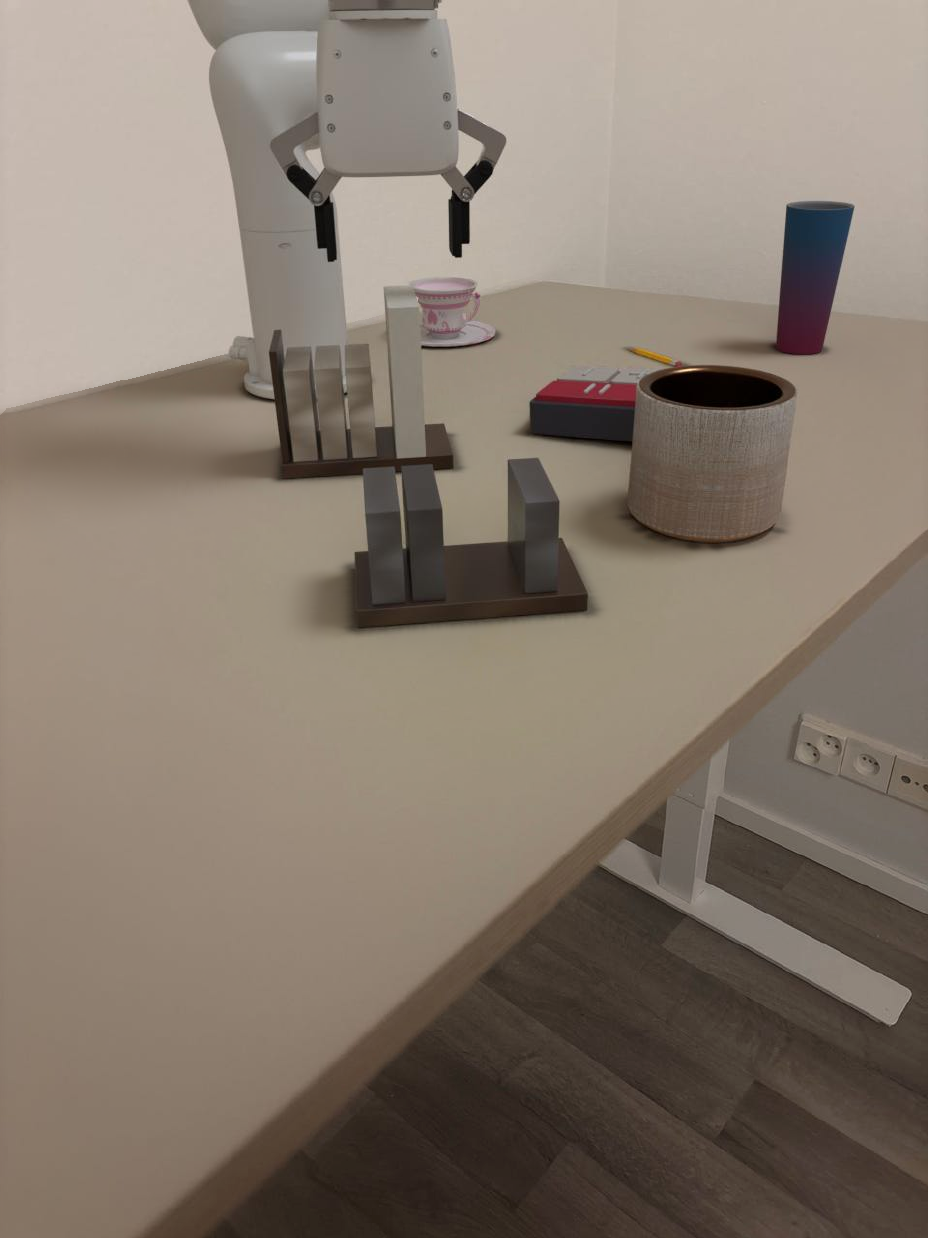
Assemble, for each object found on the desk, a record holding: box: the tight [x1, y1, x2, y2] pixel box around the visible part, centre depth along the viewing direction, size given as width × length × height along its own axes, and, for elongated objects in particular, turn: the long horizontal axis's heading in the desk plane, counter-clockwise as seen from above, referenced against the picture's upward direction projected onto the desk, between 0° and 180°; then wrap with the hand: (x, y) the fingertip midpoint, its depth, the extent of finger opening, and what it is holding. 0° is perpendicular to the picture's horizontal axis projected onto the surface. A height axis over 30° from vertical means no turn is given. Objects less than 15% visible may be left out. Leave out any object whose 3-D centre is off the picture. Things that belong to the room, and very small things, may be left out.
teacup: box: [408, 276, 496, 348], centre depth 116 cm, size 12×12×6 cm
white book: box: [383, 284, 426, 459], centre depth 79 cm, size 2×8×12 cm, turn 6°
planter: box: [627, 364, 798, 544], centre depth 68 cm, size 11×11×10 cm
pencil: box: [627, 347, 683, 367], centre depth 107 cm, size 1×8×1 cm, turn 31°
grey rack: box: [353, 457, 589, 628], centre depth 60 cm, size 14×8×7 cm, turn 96°
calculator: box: [528, 364, 663, 443], centre depth 87 cm, size 11×4×15 cm
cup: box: [775, 200, 855, 355], centre depth 105 cm, size 7×7×15 cm
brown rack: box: [269, 330, 454, 480], centre depth 80 cm, size 14×8×10 cm, turn 96°
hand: (394, 256), depth 75 cm, fingers open, 9 cm apart
